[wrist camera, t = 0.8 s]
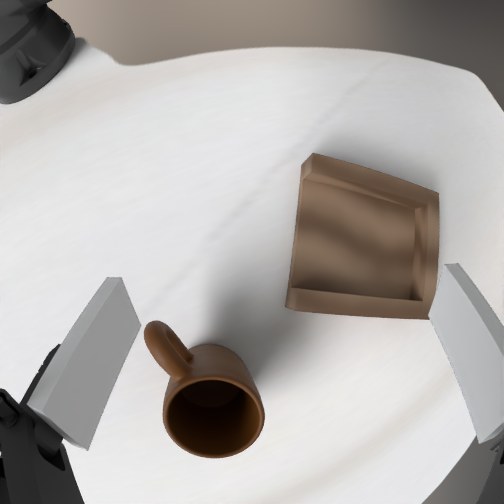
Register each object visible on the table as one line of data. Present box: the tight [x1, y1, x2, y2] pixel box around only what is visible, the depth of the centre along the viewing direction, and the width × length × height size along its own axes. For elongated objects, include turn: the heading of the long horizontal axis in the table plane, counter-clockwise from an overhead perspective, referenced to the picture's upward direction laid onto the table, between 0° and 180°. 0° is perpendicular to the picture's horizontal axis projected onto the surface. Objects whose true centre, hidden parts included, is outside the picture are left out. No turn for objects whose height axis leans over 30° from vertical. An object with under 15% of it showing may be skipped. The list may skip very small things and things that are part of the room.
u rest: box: [285, 153, 439, 320], centre depth 29 cm, size 15×17×4 cm
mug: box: [144, 321, 265, 458], centre depth 22 cm, size 12×8×9 cm, turn 33°
